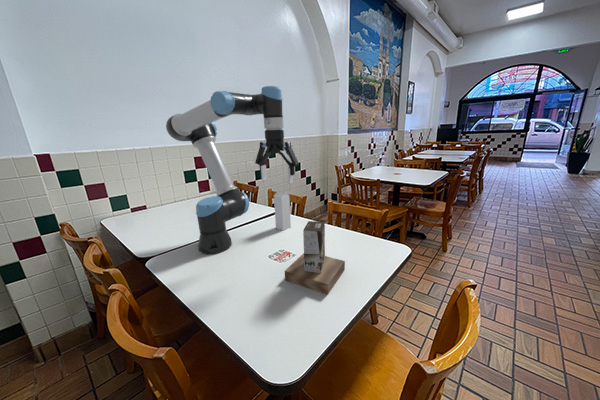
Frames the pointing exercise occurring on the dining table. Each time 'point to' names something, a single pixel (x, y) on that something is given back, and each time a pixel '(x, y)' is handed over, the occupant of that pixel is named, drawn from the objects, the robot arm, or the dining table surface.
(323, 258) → the coffee box
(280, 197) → the milk
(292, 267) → the walnut pedestal
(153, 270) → the dining table surface
